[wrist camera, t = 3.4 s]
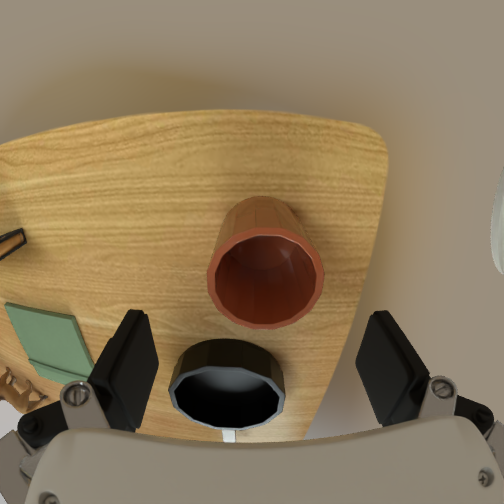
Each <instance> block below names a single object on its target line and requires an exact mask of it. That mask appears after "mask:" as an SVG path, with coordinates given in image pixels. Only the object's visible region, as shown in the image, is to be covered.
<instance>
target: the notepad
mask: <svg viewBox="0 0 504 504" xmlns="http://www.w3.org/2000/svg"><path fill="white" fill-rule="evenodd" d="M4 306H5V309H6V311H7V313H8V316H9V318H10V320H11V323H12V325H13V327H14V329H15V331H16V334H17V336H18V338H19V340H20V342H21V344H22V346H23V348H24V350H25V352H26V353H27V355H28V357H29V359H28V360H29V362H30V364H32V365H33V366H34V368H35V370H36V371H37V373H38V375H39V376H41V377H44V378H47V379H50V380H52V381H55V382H58V383H61V384H64V385H66V384H68V383H70V382H72V381H76V380H82V381H85V382H86V381H87V379H88V377H89V376H90V374H91V372H92V370H93V368H94V364H93V362H92V360H91V357H90V355H89V353H88V350H87V348H86V346H85V343H84V341H83V338H82V336H81V333H80V331H79V328H78V325H77V322H76V320H75V317H74V316H71V315H65V314H60V313H54V312H49V311H44V310H39V309H34V308H30V307H25V306H21V305H16V304H12V303H8V302H7V303H6V304H5V305H4Z"/></svg>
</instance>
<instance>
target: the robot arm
mask: <svg viewBox="0 0 504 504" xmlns="http://www.w3.org/2000/svg"><path fill="white" fill-rule="evenodd" d="M158 366H159V361H158V356H157V352H156V349H155V345H154V340H153V336H152V332H151V328H150V323H149V319H148V315H147V314H144V312H143V311H142V310H133V309H130V310H128V312H127V314H126V315H125V317H124V319H123V320H122V322H121V324H120V326H119V327H118V329H117V331H116V332H115V334H114V336H113V338H110V339H109V341H108V342H107V344H106V346H105V348H104V350H103V351H102V353H101V355H100V357H99V359H98V360H97V362H96V364H95V366H94V368H93V370H92V372H91V374H90V376H89V377H88V379H87V381H86V382H85V381H82V380H76V381H72V382H70V383H68V384H66V385H65V386H64V387H63V388H62V390H61V392H60V400H59V401H57V402H54V403H52V404H49V405H47V406H44V407H42V408H39V409H37V410H34V411H31V412H29V413H27V414H25V415H23V416H22V417H21V419H20V420H19V422H18V427H17V428H18V430H17V431H16V432H15V431H14V430H11V431H10V432H9V433H8V434H6V435H5V436H4V437H2V438H1V439H0V493H1V494H2V496H3V497H4V499H5V501H6V502H7V504H504V425H503V424H502V423H501V422H499V421H498V420H497V421H496V422H494V416H493V413H492V411H491V410H490V409H489V408H488V407H486V406H485V405H482V404H479V403H477V402H474V401H472V400H469V399H466V398H464V397H461V396H459V395H457V387H456V385H455V383H454V382H453V381H452V380H451V379H449V378H447V377H445V376H435V377H432V378H430V376H429V374H430V373H429V371H428V369H427V368H426V366H425V365H424V363H423V362H422V360H421V358H420V357H419V355H418V354H417V353H416V351H415V349H414V348H413V346H412V345H411V343H410V342H409V340H408V339H407V337H406V336H405V334H404V333H403V331H402V330H401V329H400V327H399V326H398V324H397V323H396V322H395V320H394V318H393V317H392V316H391V314H390V313H389V312H388V311H387V310H384V311H375V312H374V313H373V315H371V316H370V318H369V321H368V324H367V327H366V331H365V334H364V337H363V340H362V343H361V346H360V349H359V352H358V355H357V358H356V368H357V370H358V373H359V375H360V377H361V380H362V382H363V385H364V387H365V390H366V392H367V395H368V397H369V400H370V402H371V405H372V408H373V410H374V413H375V415H376V418H377V420H378V422H379V424H382V426H383V427H382V428H377V429H373V430H368V431H364V432H358V433H352V434H347V435H340V436H334V437H327V438H319V439H310V440H299V441H286V442H264V443H232V442H209V441H196V440H185V439H176V438H168V437H160V436H153V435H147V434H141V433H135V430H136V428H138V429H139V428H140V426H141V423H142V419H143V416H144V412H145V409H146V405H147V402H148V399H149V395H150V392H151V389H152V386H153V382H154V379H155V376H156V373H157V370H158Z"/></svg>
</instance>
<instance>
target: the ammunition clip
mask: <svg viewBox="0 0 504 504" xmlns="http://www.w3.org/2000/svg"><path fill="white" fill-rule="evenodd" d="M26 243H27V242H26V239H25V236H24V233H23V230H22V228H20V229H17V230H14V231H12V232H9V233H6V234H4V235H1V236H0V261H1V260H2V259H4V258H5V257H7V256H8V255H10V254H11V253H12V252H14V251H15V250H17V249H19V248H20V247H22V246H23V245H25V244H26Z"/></svg>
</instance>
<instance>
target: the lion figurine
mask: <svg viewBox="0 0 504 504" xmlns="http://www.w3.org/2000/svg"><path fill="white" fill-rule="evenodd" d="M6 370H7V372H6V373H5V374H4V375H2V376H1V378H0V401H1V400H6V401H7V402H9V403H10V404H12V405H13V406H14V408H15V409H16V410H17V411H19V412H20V413H22V414H27V413H29V412H31V411H34V410H35V409H36V408H37V407H38V406H40V405H41V404H42V402H43V401H44V400H45V398H48V397H47V396H46V395H44V396H42V395H39V397H40V398H41V399H40V400H38V401H29V395H30V394H31V393H32V386H31V383H30V382H29V381H28V380H26V383H27V384H28V389H27V390H26V391H25V392H23V393H22V394H21V395H20V394H19V392H18V391H17V390H16V389H15V388H14V387H13V385H14V383H15V382H16V379H15V378H14V377H13V376H12V380H11V381H10V383H9V384H7V383H6V380H7V378H8V376H9V375H10V373H11V371H10V369H9V368H8V367H7V368H6Z"/></svg>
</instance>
